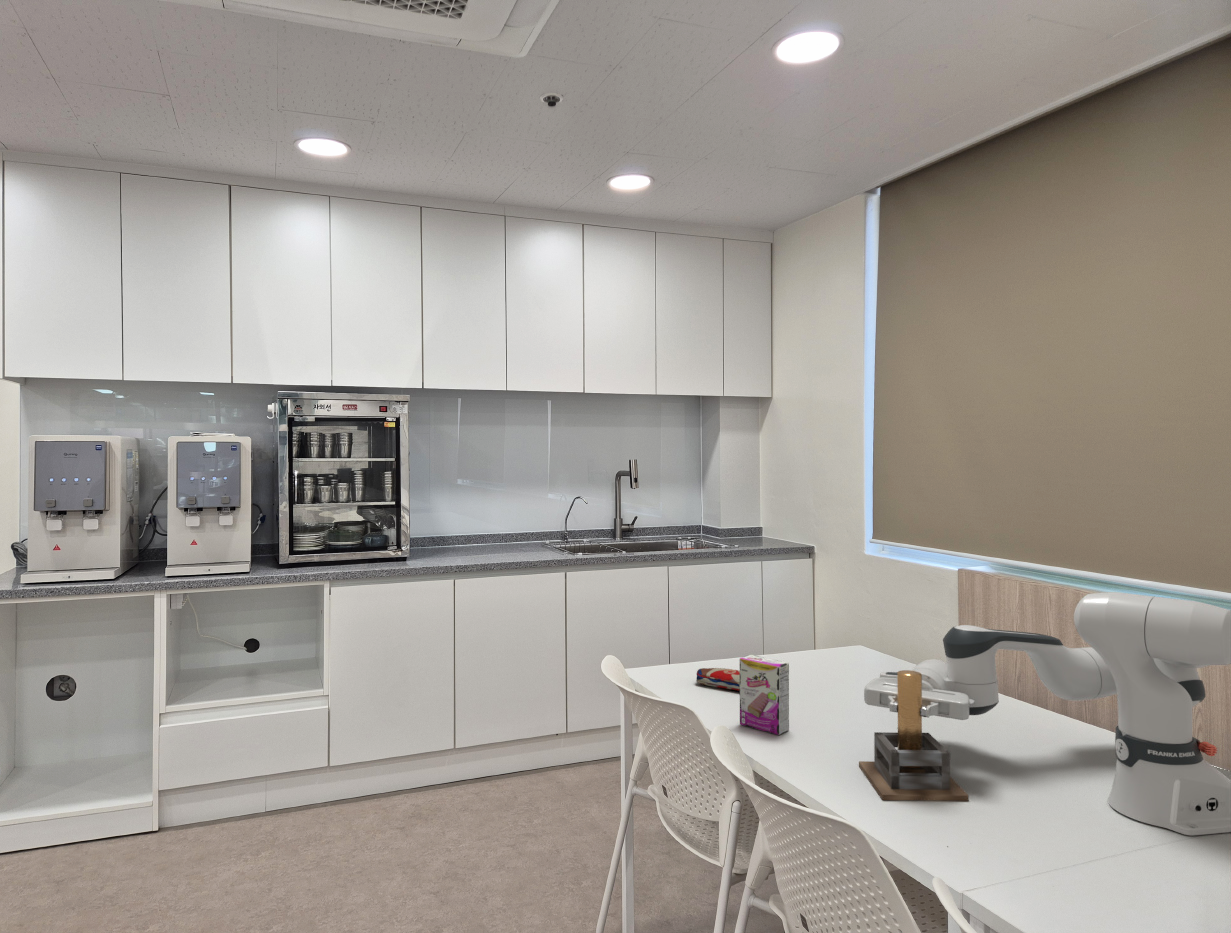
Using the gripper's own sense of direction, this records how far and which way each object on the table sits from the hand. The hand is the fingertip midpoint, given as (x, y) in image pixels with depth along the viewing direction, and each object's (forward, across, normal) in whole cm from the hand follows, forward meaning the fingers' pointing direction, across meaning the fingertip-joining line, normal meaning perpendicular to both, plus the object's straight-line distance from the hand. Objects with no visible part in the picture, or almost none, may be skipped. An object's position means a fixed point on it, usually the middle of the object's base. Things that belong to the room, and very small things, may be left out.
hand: (908, 710), depth 152 cm
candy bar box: (-15, +36, -15) cm, 42 cm away
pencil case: (-41, +57, -15) cm, 71 cm away
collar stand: (-1, 0, -14) cm, 15 cm away
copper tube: (-1, 0, -11) cm, 11 cm away
